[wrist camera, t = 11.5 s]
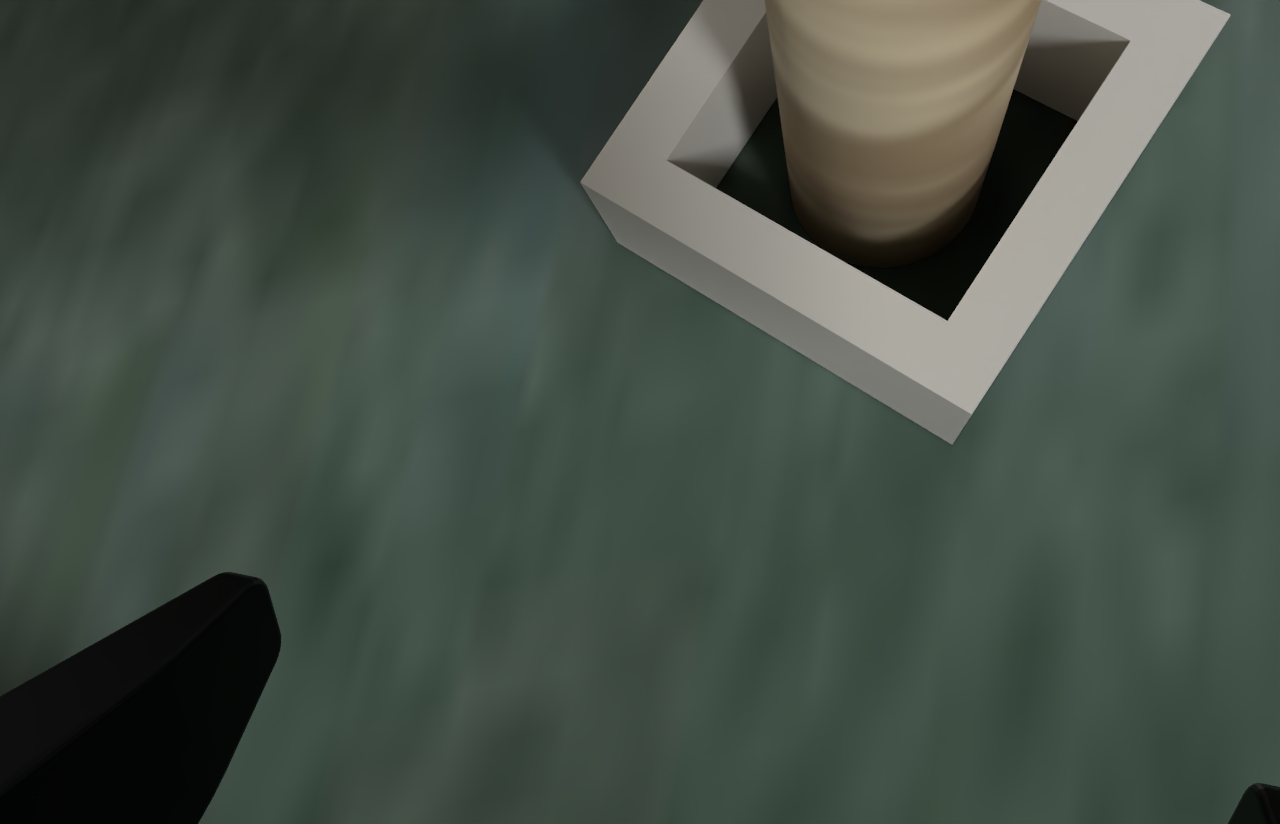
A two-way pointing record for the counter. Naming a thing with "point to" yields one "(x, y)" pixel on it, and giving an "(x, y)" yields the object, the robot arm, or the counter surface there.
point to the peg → (892, 116)
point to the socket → (837, 292)
